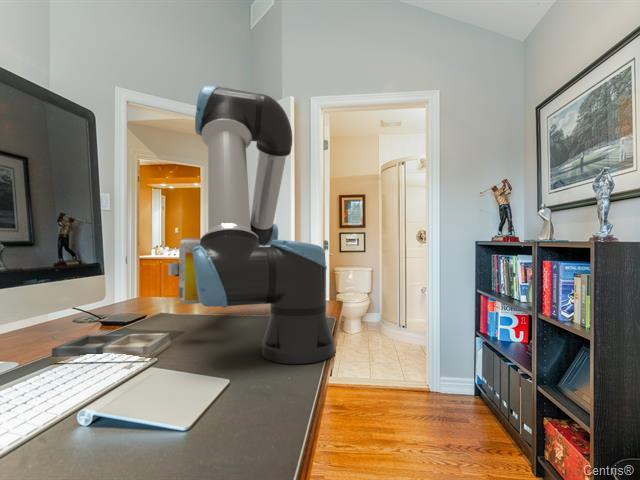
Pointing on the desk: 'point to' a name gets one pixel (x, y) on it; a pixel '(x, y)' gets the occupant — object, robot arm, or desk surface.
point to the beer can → (187, 271)
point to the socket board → (112, 345)
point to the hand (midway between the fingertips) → (185, 269)
